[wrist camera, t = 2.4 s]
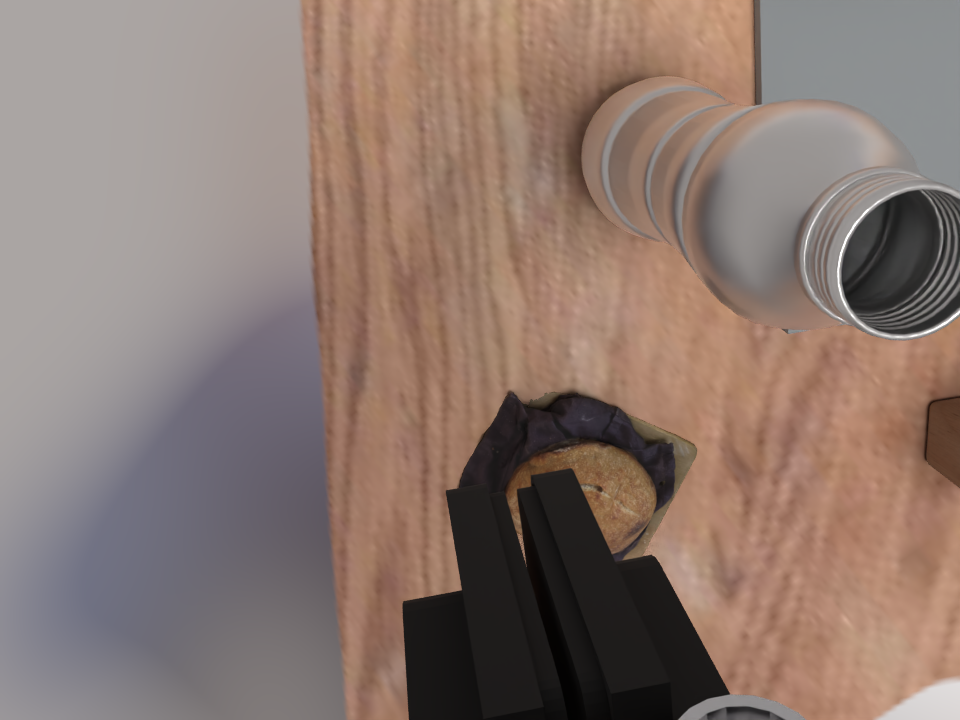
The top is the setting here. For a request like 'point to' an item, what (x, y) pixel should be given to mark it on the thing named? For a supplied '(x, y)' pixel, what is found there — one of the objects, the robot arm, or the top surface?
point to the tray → (870, 68)
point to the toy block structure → (945, 438)
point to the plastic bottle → (781, 206)
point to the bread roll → (586, 462)
